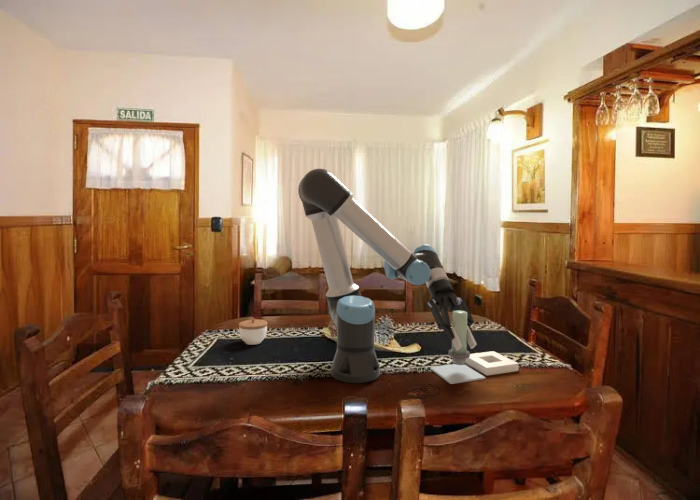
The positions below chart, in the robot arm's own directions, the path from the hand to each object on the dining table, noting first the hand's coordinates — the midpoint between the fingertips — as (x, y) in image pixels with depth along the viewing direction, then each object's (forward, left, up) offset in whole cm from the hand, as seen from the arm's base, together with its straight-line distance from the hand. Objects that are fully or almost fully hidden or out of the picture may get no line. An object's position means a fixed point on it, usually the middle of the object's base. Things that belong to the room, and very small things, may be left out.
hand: (466, 347), depth 116 cm
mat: (-1, +4, -10) cm, 10 cm away
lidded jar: (-59, +55, -10) cm, 81 cm away
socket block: (+13, +6, -10) cm, 17 cm away
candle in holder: (0, +4, -6) cm, 7 cm away
